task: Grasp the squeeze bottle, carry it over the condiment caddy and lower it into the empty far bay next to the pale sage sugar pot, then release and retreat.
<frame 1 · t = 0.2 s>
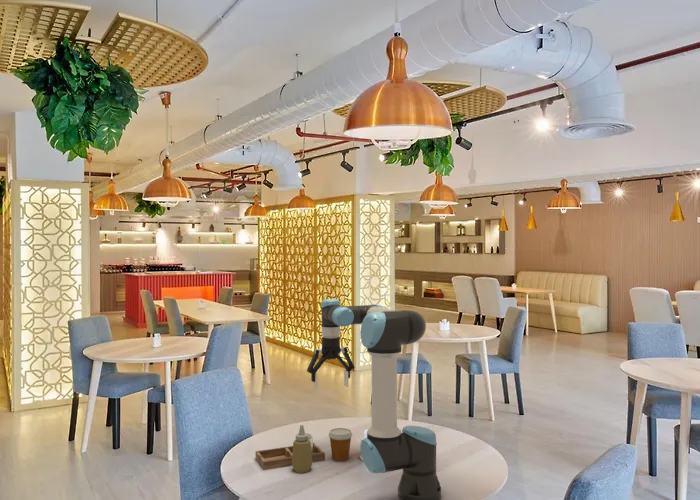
hand: (331, 387, 246), 28 cm above the table, fingers open, 13 cm apart
squeeze bottle: (302, 472, 228), on the table
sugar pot: (304, 457, 241), point 1 cm above the table, touching caddy
caddy: (290, 461, 239), on the table
disposable coffee cup: (340, 461, 240), on the table
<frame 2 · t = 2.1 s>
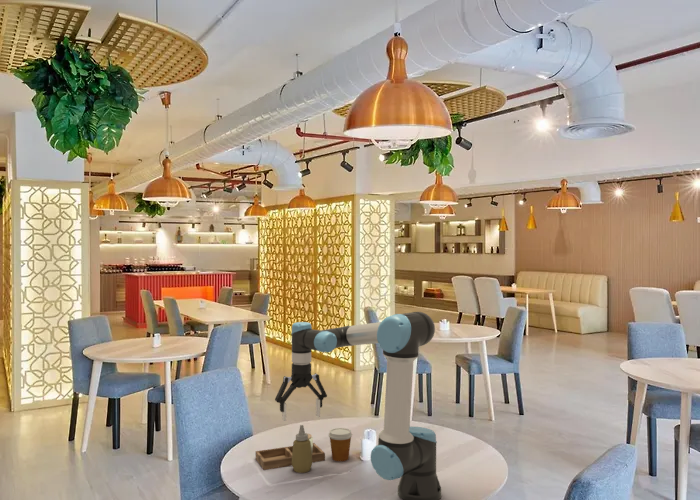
hand: (301, 418, 228), 21 cm above the table, fingers open, 13 cm apart
nothing on the table moved.
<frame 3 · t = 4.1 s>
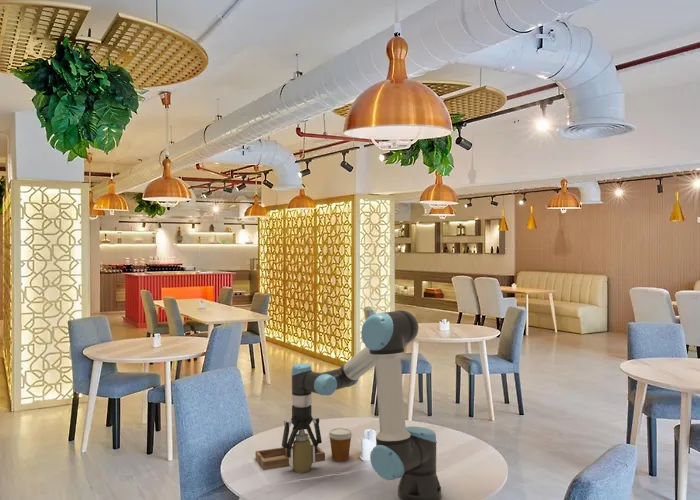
hand: (301, 463, 228), 3 cm above the table, fingers closed on squeeze bottle, 8 cm apart
squeeze bottle: (302, 472, 228), on the table, touching gripper
everything else where it was.
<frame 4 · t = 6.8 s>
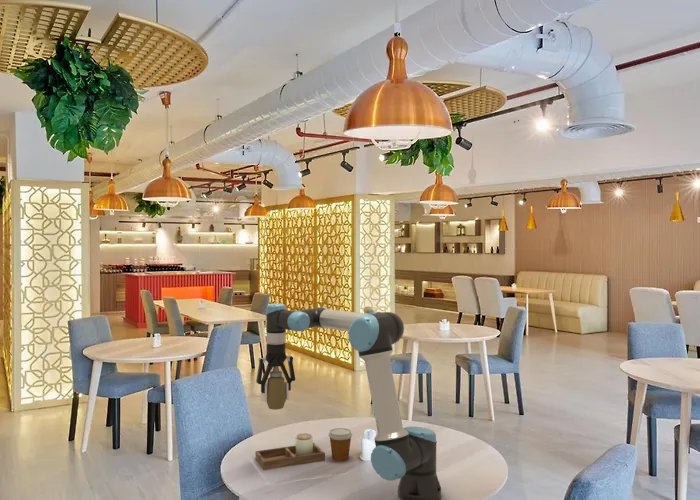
hand: (275, 399, 236), 26 cm above the table, fingers closed on squeeze bottle, 8 cm apart
squeeze bottle: (275, 408, 236), point 22 cm above the table, touching gripper
everything else where it was.
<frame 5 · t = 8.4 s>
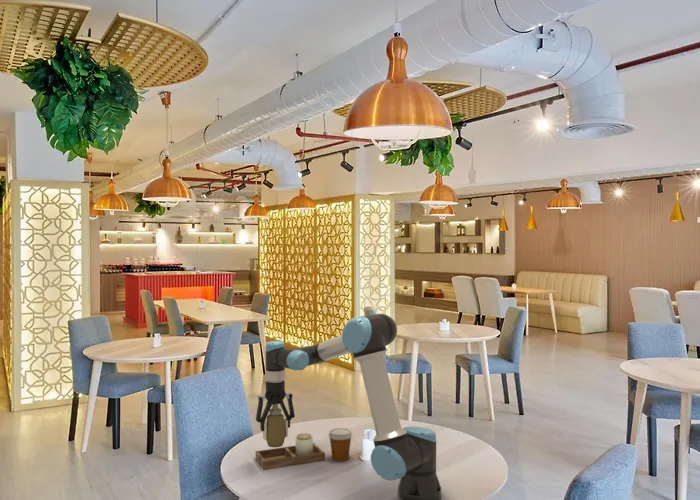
hand: (275, 437, 236), 11 cm above the table, fingers closed on squeeze bottle, 8 cm apart
squeeze bottle: (275, 445, 237), point 7 cm above the table, touching gripper
everything else where it was.
when the fingers open (6 cm above the table, at t = 9.5 s): squeeze bottle drops 2 cm, resting on caddy.
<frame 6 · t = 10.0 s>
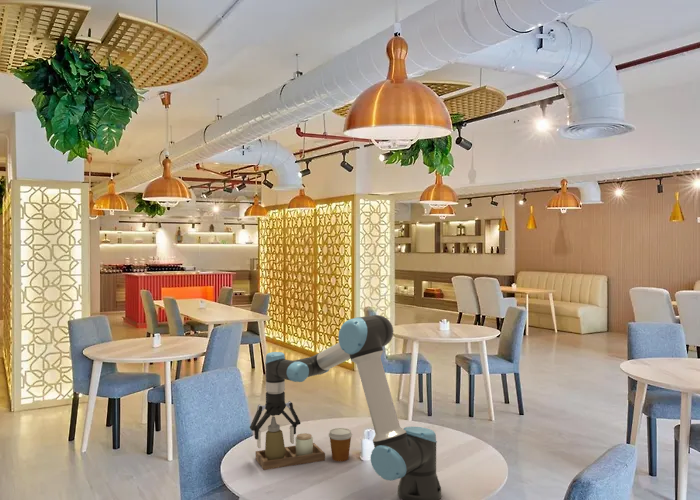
hand: (275, 444, 236), 8 cm above the table, fingers open, 13 cm apart
squeeze bottle: (275, 461, 237), point 1 cm above the table, touching caddy
everything else where it was.
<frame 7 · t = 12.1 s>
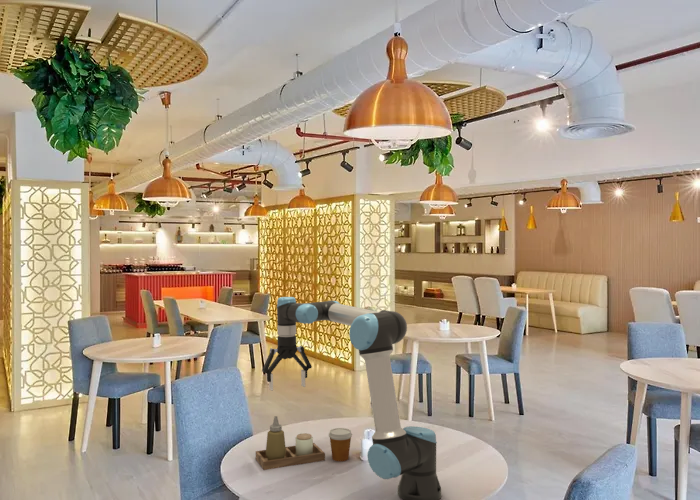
hand: (287, 388, 240), 29 cm above the table, fingers open, 13 cm apart
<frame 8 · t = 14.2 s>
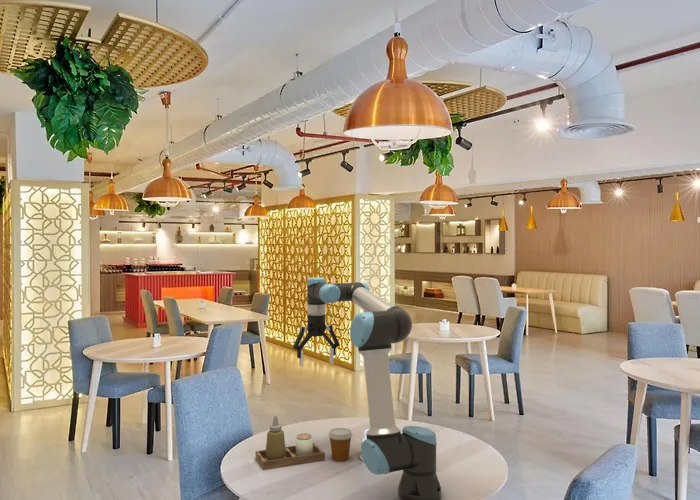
hand: (316, 364, 250), 37 cm above the table, fingers open, 13 cm apart
nothing on the table moved.
at the end: squeeze bottle inside the target area (0.1 cm from its centre), point 0.8 cm above the table; squeeze bottle tilted 0°; the gripper is holding nothing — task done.
